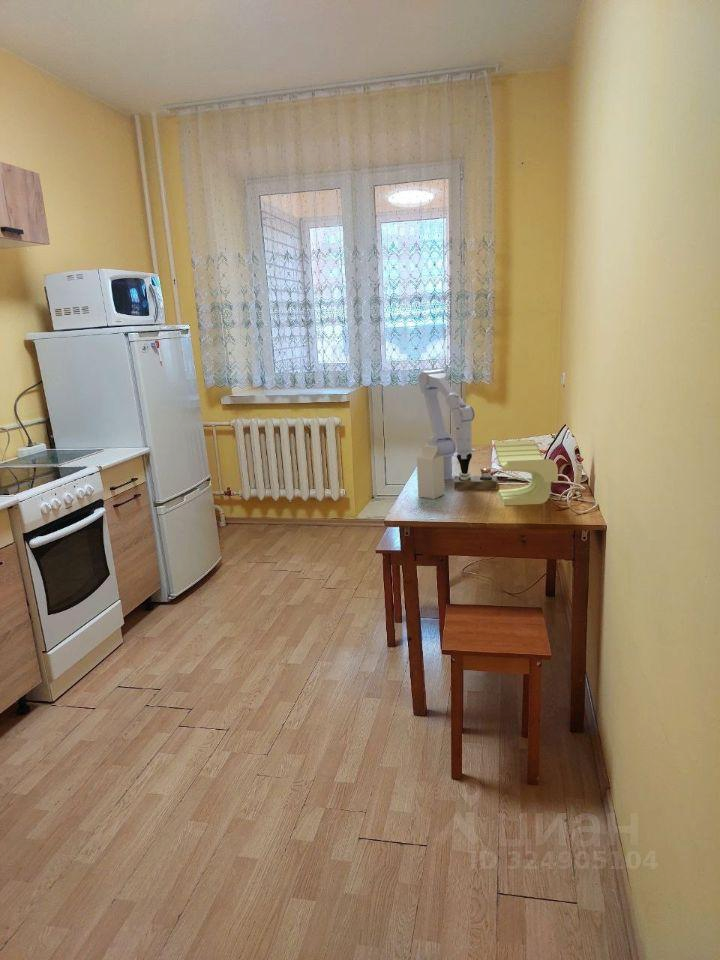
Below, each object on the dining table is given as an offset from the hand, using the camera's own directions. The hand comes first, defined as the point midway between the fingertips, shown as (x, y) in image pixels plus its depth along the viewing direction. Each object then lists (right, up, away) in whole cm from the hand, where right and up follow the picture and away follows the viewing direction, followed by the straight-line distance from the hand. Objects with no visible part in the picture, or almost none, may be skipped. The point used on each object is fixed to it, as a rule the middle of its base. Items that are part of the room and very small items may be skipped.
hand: (464, 472), depth 227 cm
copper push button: (+8, -3, -1) cm, 9 cm away
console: (+4, -5, +1) cm, 7 cm away
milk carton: (-14, -9, -7) cm, 18 cm away
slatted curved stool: (+18, -10, -18) cm, 27 cm away
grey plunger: (0, -4, +1) cm, 4 cm away
